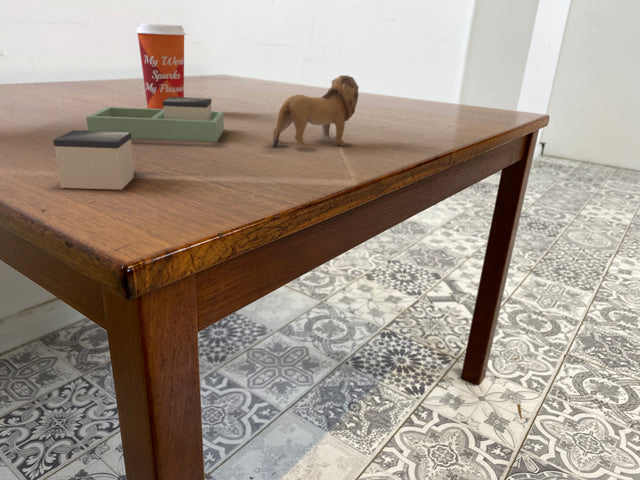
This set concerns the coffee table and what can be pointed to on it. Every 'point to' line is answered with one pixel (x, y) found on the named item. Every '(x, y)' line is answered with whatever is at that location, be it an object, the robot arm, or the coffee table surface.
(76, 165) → the cream block
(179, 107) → the pad
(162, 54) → the paper cup
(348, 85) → the lion figurine
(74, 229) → the coffee table surface
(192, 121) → the green divided tray
